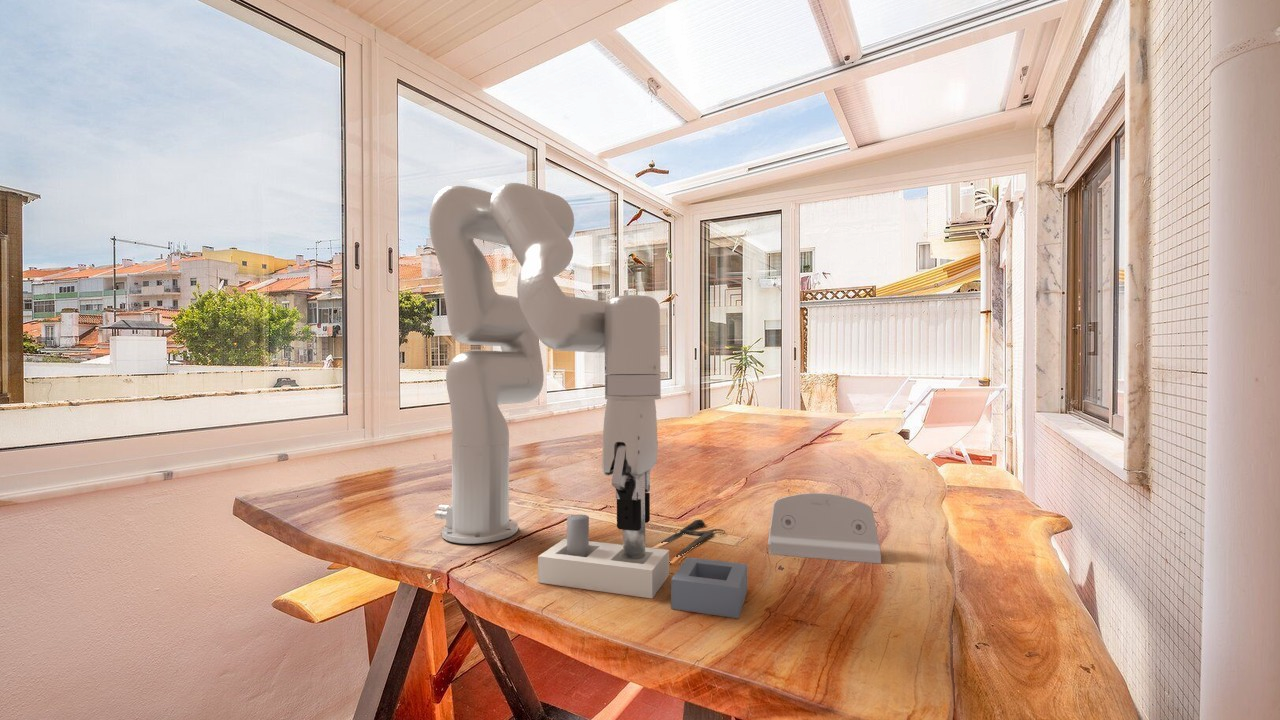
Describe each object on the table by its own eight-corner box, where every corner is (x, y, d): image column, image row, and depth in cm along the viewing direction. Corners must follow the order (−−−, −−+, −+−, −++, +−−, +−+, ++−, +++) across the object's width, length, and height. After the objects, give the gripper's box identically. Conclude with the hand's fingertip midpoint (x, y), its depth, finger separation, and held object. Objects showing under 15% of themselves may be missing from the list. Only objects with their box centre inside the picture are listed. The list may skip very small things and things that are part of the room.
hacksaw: (696, 525, 101) (696, 517, 101) (749, 535, 95) (749, 526, 95) (621, 565, 81) (621, 554, 81) (682, 580, 75) (682, 569, 75)
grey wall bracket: (767, 554, 84) (767, 488, 88) (768, 554, 88) (768, 492, 92) (884, 564, 80) (879, 494, 83) (879, 564, 84) (875, 498, 88)
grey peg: (619, 558, 72) (619, 467, 72) (627, 550, 75) (626, 463, 75) (641, 560, 71) (640, 468, 71) (648, 553, 74) (647, 464, 74)
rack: (538, 582, 73) (538, 522, 73) (564, 562, 81) (564, 507, 81) (652, 598, 68) (652, 534, 68) (669, 575, 76) (669, 517, 76)
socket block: (671, 608, 65) (671, 579, 65) (686, 583, 73) (686, 557, 73) (738, 618, 63) (738, 587, 63) (747, 591, 70) (747, 563, 70)
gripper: (626, 386, 82) (627, 508, 82) (582, 390, 67) (582, 541, 66) (675, 386, 80) (676, 512, 79) (640, 390, 64) (641, 547, 64)
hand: (633, 524), depth 73 cm, fingers closed on grey peg, 3 cm apart
